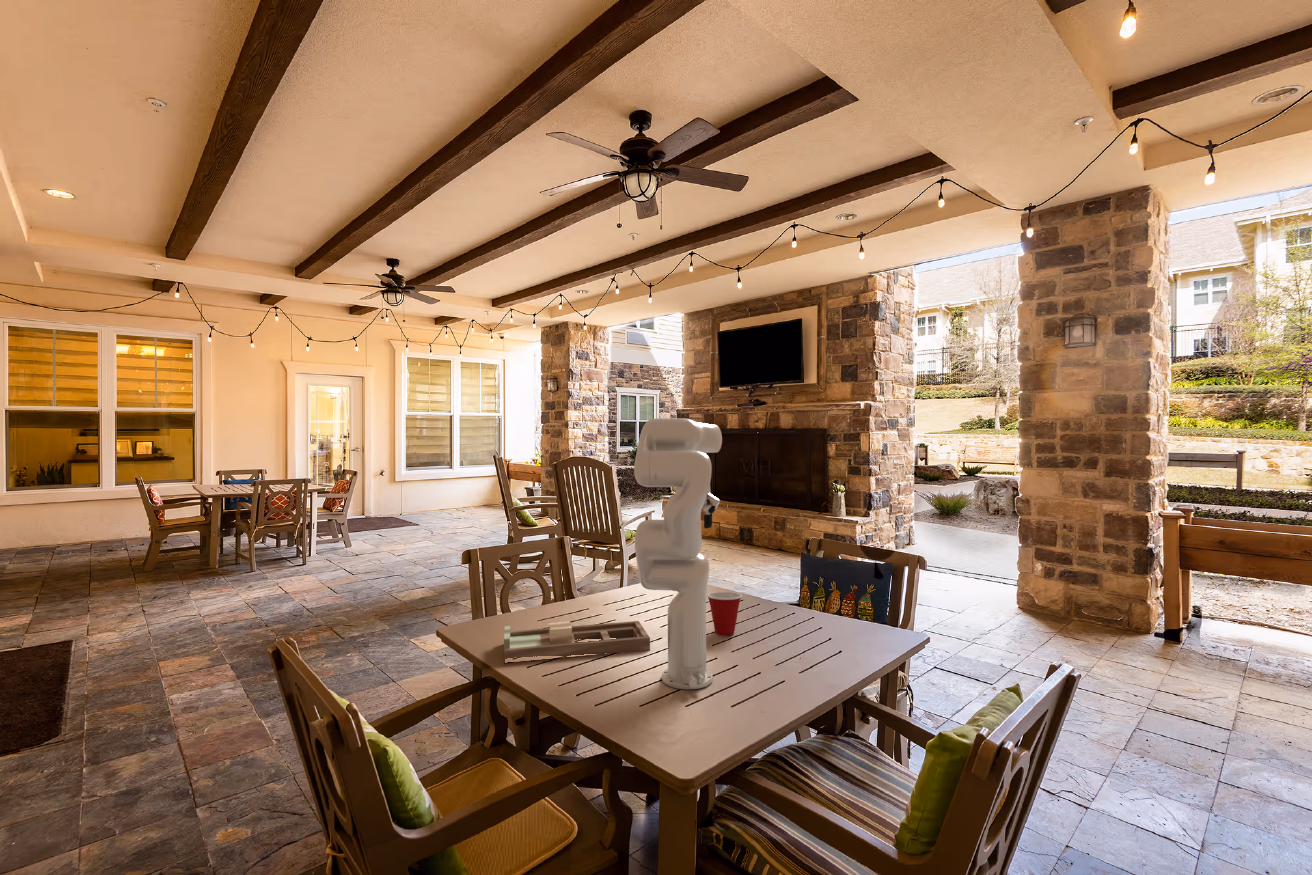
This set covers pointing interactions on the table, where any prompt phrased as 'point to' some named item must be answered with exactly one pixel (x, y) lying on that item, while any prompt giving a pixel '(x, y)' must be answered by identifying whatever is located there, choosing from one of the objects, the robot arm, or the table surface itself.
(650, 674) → the table surface
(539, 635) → the tray
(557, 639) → the maple block
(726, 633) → the plastic cup
